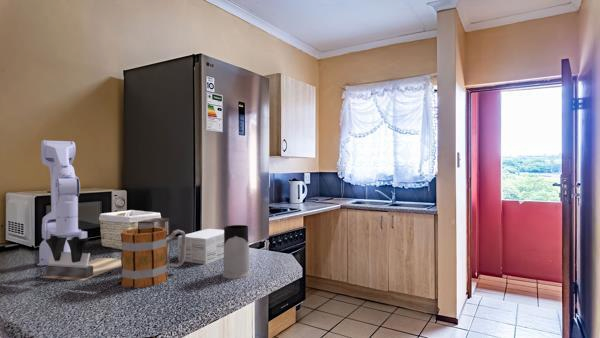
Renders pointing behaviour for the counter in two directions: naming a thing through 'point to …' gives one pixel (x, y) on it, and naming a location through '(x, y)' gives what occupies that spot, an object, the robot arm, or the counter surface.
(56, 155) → the robot arm
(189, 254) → the supplement box
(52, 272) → the board
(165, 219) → the coffee box
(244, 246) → the glass holder
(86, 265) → the plate
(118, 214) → the storage basket
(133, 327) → the counter surface
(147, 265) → the mug
